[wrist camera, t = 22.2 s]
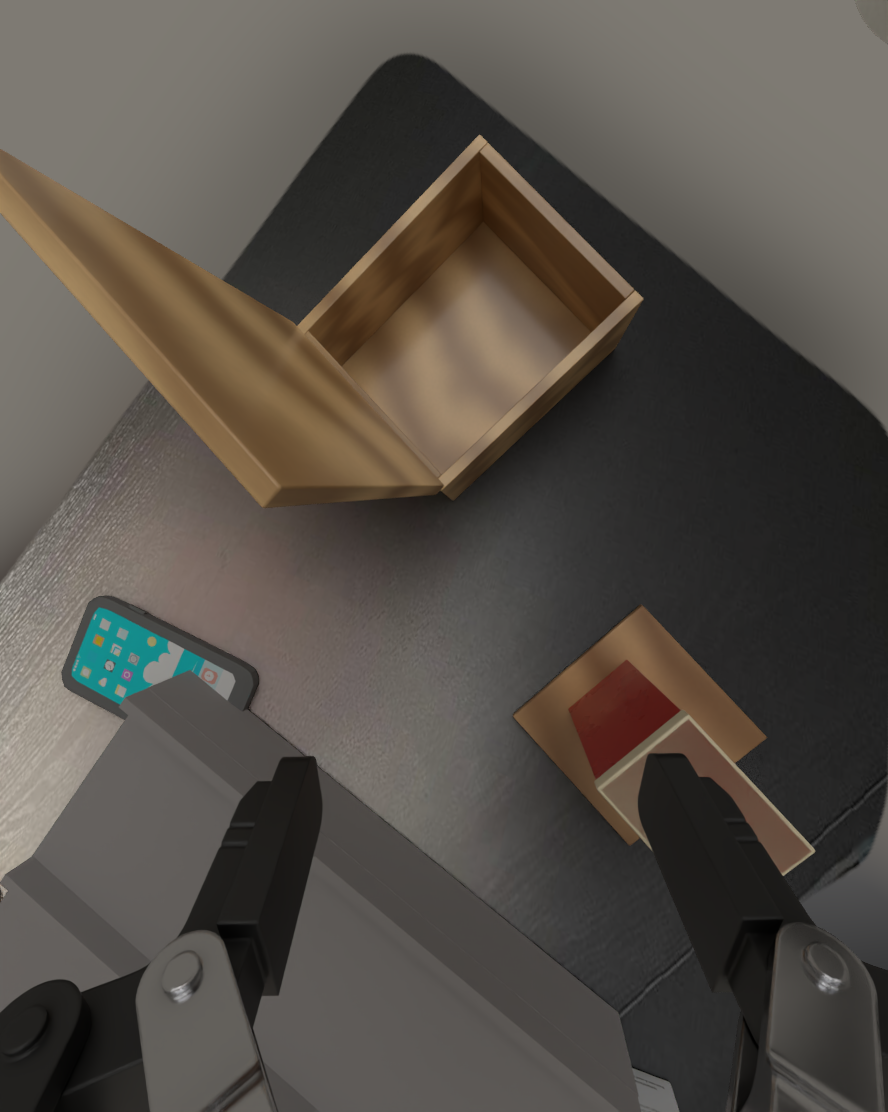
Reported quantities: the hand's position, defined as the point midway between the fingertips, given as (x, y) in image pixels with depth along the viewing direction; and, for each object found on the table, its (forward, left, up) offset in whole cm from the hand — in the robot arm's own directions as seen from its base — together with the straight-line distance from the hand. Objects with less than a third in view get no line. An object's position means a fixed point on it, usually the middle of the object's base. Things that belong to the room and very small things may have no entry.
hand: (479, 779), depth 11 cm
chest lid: (-3, -15, -8) cm, 17 cm away
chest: (-11, -15, -23) cm, 30 cm away
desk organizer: (+32, +10, -23) cm, 40 cm away
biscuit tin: (-2, +12, -22) cm, 26 cm away
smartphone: (+23, -14, -23) cm, 35 cm away
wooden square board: (-2, +12, -23) cm, 26 cm away
